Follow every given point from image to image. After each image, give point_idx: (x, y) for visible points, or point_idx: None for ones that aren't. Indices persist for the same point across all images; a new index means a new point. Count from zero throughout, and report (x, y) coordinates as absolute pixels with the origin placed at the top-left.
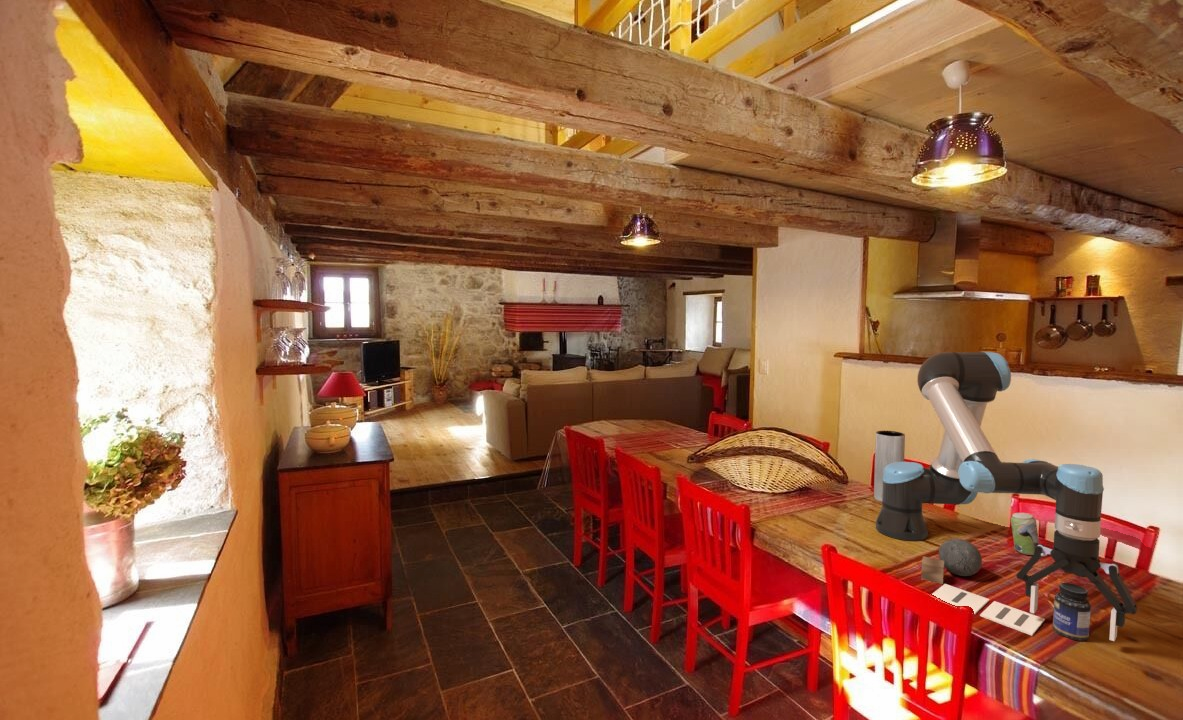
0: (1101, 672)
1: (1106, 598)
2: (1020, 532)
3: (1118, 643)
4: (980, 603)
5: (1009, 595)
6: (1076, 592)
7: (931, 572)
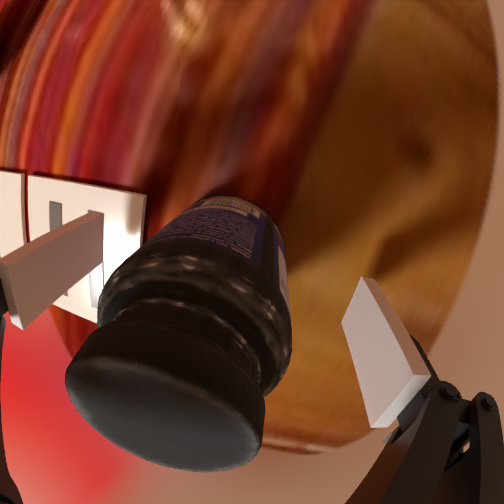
0: (288, 407)
1: (361, 485)
2: None
3: (376, 220)
4: (17, 225)
5: (57, 72)
6: (189, 469)
7: None
